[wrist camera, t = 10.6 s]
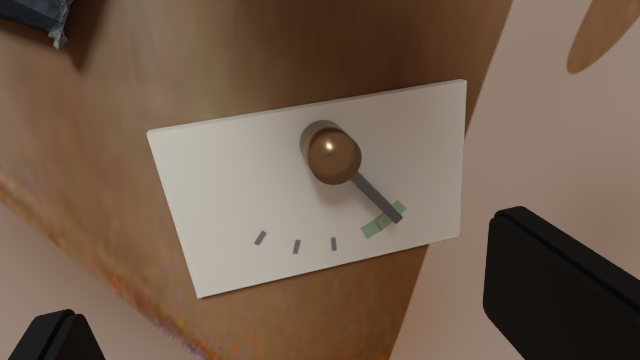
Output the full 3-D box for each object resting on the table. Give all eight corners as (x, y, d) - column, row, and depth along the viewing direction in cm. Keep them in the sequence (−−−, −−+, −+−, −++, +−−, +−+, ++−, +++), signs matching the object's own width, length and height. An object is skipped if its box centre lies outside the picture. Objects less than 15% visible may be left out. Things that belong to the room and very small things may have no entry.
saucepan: (289, 143, 35) (299, 162, 31) (323, 109, 35) (338, 123, 30) (372, 221, 41) (391, 246, 36) (403, 193, 40) (425, 215, 36)
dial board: (148, 130, 34) (146, 134, 32) (460, 78, 38) (467, 80, 37) (198, 290, 41) (197, 299, 40) (454, 231, 46) (460, 237, 45)
